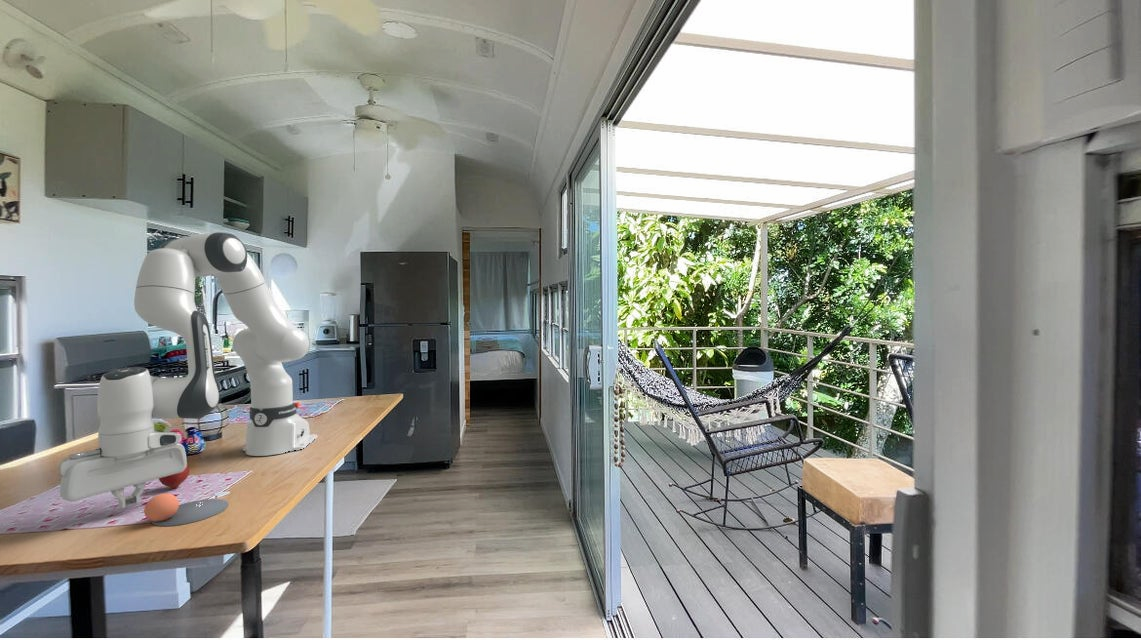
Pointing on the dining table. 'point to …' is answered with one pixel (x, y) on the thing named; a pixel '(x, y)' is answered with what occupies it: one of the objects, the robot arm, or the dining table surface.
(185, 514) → the disc
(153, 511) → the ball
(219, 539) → the dining table surface
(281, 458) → the dining table surface
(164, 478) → the onion
